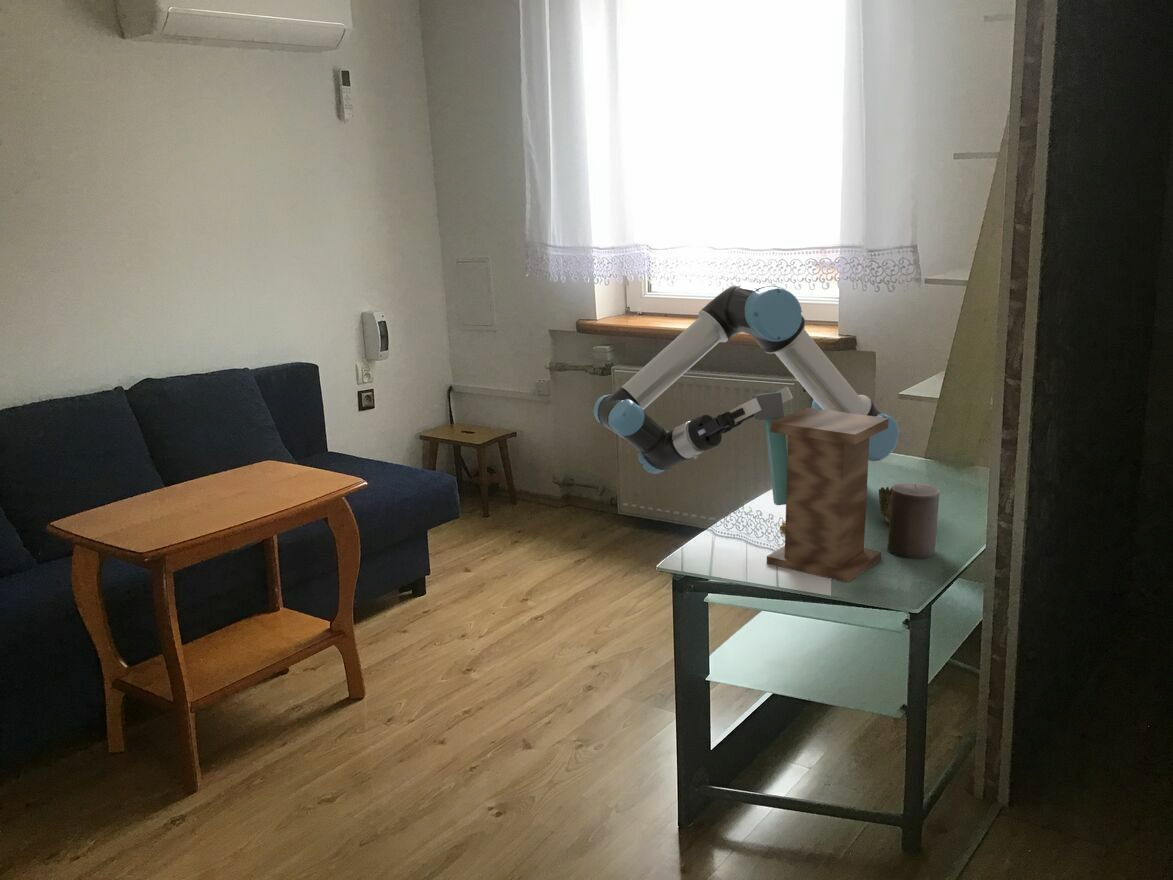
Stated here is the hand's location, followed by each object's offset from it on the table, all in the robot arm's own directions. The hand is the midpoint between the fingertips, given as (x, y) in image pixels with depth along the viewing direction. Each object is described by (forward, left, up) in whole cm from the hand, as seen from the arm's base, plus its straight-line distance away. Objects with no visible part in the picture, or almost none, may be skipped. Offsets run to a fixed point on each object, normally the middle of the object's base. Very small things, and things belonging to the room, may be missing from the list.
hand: (774, 398), depth 217 cm
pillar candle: (+11, +28, -33) cm, 45 cm away
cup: (-5, +34, -33) cm, 48 cm away
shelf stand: (+10, +7, -33) cm, 35 cm away
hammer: (+3, +1, -10) cm, 10 cm away
